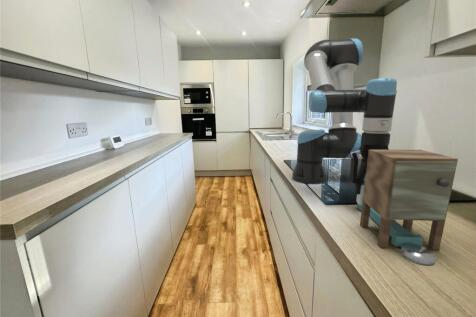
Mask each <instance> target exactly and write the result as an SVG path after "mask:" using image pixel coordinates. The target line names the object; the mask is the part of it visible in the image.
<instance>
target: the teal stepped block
mask: <svg viewBox="0 0 476 317" xmlns="http://www.w3.org/2000/svg"><path fill="white" fill-rule="evenodd" d="M365 178H366V177H364V180H363V183H362V184H363V185H364V186H365ZM363 195H364V194H363ZM356 203H357V202H356ZM356 207H357V209H358V210H360V211H361V212H362V205H359V204H358V203H357V204H356ZM369 218H371V220H372V221H374V222H375V223H376V224H377V225H378V226H379V227H380V222H381V216H380V215H379V214H378V213H377V212H376V211H374V210H373V209H372V208H370V216H369ZM389 237H391V244H392V245H393V246H394V247H401V246H402V244H405V243H412V244H417V245H420V246H423V245H424V244H423V243H424V237H423V236H422V235H421V234H417V233H412V232H410V230H409V229H405V228H404V227H403V225H402V224H400V223H399V222H398V221H396V220H391V227H390V234H389Z"/></svg>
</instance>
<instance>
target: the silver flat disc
mask: <svg viewBox="0 0 476 317" xmlns="http://www.w3.org/2000/svg"><path fill="white" fill-rule="evenodd" d="M399 253H400V254H401V256H402V257H403V258H405V260H408V261H409V262H412V263H414V264H417V265H419V266H427V267H428V266H433V265H434V264H435V261H436V258H437V257H436V254H435V253H434V251H433V250H431V249H430V248H428V247H425V246H423V245H422V246H420V245H417V244H412V243H405V244H402V246H400V252H399Z"/></svg>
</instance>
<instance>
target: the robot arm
mask: <svg viewBox="0 0 476 317" xmlns="http://www.w3.org/2000/svg"><path fill="white" fill-rule="evenodd" d="M363 56H364V47H363V43H362V41H361V40H360V39H359V38H352V37H347V38H337V39H322V40H319V41H317V42H315V43H313V44H312V45H311V46H310V47H309V48H308V50H307V51H306V53H305V55H304V58H303V64H304V67H305V69H306V70H307V71H308V75H309V80H310V83H311V88H312V91H311V92H310V93H309V96H308V110H309V111H310V112H311V113H319V114H322V113H325V114H326V113H331V116H332V117H331V126H330V127H329V128H328V130H327V132H326V130H325V129H321V128H320V129H311V130H305V131H301V132H299V133H298V136H297V150H296V152H297V153H296V154H297V155H296V164H295V166H294V169H293V171H292V176H291V177H292V180H293V181H296V182H298V183H302V184H308V185H309V184H313V185H316V184H315V183H317V184H322V183H321V182H323V183H325V182H326V177H327V175H326V173H325V168H324V165H323V164H324V163H323V162H324V159H343V160H344V159H350V168H349V170H350V171H349V181H350V182H352V183H353V184H355V185H354V186H355V187H354V193H355V194H356V203H358V204H359V205H362V203H363V194H364V185H363V184H362V183H363V180H364V178H366V169H367V161H368V152H369V150H390V149H389V146H390V141H391V133H389V132H390V131H391V130H392V124H393V116H394V110H395V103H396V97H397V85H398V81H397V79H396V78H394V77H384V78H383V77H382V78H373V79H370V80H368V81H367V84H366V87H365V89H354V74H355V73H354V72H356V70H357V69H358V67H359V66H360V65H361V63H362V61H363ZM354 113H363V119H362V127H361V130H362V131H363V132H361V133H360V132H357V127H355V125H353V124H354V115H353V114H354ZM360 156H361V157H362V158H361V161H360V162H361V163H360V166H359V158H360ZM358 168H359V169H358ZM324 181H325V182H324Z"/></svg>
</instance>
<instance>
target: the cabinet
mask: <svg viewBox="0 0 476 317" xmlns="http://www.w3.org/2000/svg"><path fill="white" fill-rule="evenodd" d="M458 159H459V158H456V157H452V156H448V155H444V154H439V153H436V152H430V151H428V150H427V151H426V150H423V149H389V150H369V152H368V161H367V169H366V175H365V177H364V178H365V186H364V195H363V203H362V211H361V213H360V222H359V225H360V227H361V228H362V229H363V228H365V229H368V228H369V221H370V208H372V209H373V210H374V211H376V212H377V213H378V214H379V215H380V216H381V222H380V226H379V230H378V236H377V246H378V247H379V248H380V249H388V246H389V239H390V235H389V234H390V227H391V220H395V221H396V220H398V221H402V226H403V227H404V228H405V229H407V230H412V229H413V224H414V221H427V222H431V226H430V227H431V228H430V232H429V235H428V242H427V246H426V248H428V249H429V250H431V251H437V252H438V251H440V248H441V243H442V238H443V234H444V229H445V224H446V218H447V213H448V210H449V205H450V199H451V194H452V189H453V185H454V180H455V176H456V171H457V165H458V161H459V160H458Z"/></svg>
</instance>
